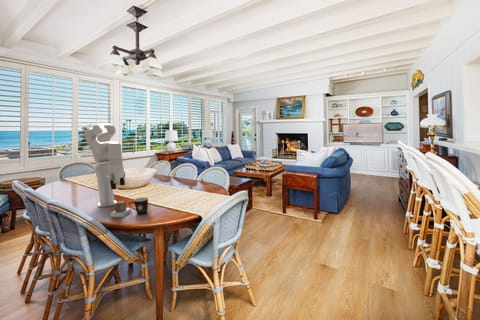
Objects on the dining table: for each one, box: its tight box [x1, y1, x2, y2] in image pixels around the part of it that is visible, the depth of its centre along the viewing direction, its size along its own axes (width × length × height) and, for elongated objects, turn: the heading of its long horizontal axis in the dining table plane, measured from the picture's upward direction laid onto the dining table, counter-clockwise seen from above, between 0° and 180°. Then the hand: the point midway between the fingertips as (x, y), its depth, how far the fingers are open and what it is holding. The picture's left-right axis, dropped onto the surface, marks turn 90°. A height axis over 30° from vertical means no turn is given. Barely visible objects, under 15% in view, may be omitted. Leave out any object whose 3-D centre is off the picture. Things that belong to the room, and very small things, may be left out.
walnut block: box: [113, 200, 127, 212], centre depth 152 cm, size 5×5×6 cm
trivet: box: [109, 207, 132, 218], centre depth 153 cm, size 9×9×3 cm
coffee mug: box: [128, 197, 149, 216], centre depth 153 cm, size 12×9×10 cm
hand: (118, 187), depth 151 cm, fingers open, 9 cm apart
